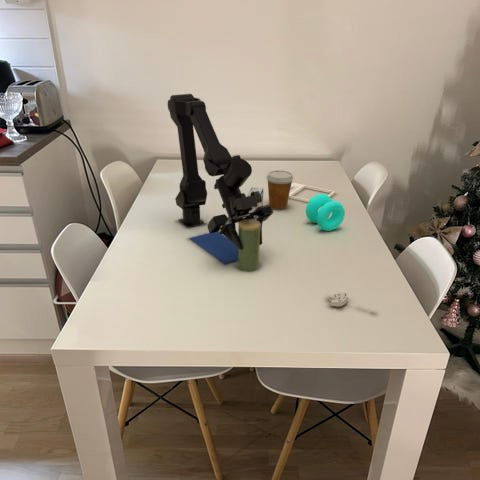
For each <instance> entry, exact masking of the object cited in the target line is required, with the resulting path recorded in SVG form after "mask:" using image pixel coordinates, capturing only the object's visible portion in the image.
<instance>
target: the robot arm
mask: <svg viewBox="0 0 480 480" xmlns="http://www.w3.org/2000/svg"><path fill="white" fill-rule="evenodd" d="M167 109H168V112H169V115H170V118H171V120H172V122H173V123H174V125H175V126H176V128H177V137H178V142H179V143H178V144H179V153H180V159H181V160H180V161H181V166H182V178H181V180H180V183H179V191H178V193H177V195H176V197H175V204H176V206H177V207H179V208H180V209H181V211H182V212H181V213H182V218H180V219H178V222H179V223H181V225H183V226H185V227H186V228H191V227H196V226H201V225H204V224H205V221H204V220H202V219H201V206H206V202H207V197H208V190H207V182H206V180H204V179H203V178H202V177H201V176H200V173H199V165H198V157H197V148H196V139H195V133H196V134H197V138H198V140H199V143H200V145H201V147H202V149H203V152H204V154H203V160H202V161H203V164H204V170H205V172H206V173H207V174H208V176H211V177H212V178H213V177H218V176H220V177H219V178H216V179H215V183H214V185H213V189H214V190H217V191H218V193H219V196H220V199H221V201H222V204H221V207H222V209H225V211H226V214H227V215H226V214H225V213H223V214H219V215H214V216H213V217H212V218H211V219H210V220H209V222H208V223H207V225H206V226H207V230H208V233H215V232H219V234H222V235H223V236H225V237H226V238H228V239H229V240H230V241H231V242H233V243H234V244H235V245H236V246H237V247H238V248H239V249H240V250H242V249H243V247H242V243H241V241H240V239H239V236H238V230H237V228H236V227H237V226H236V225H237V224H238V223H239V222H240V221H241V220H245V219H252V220H257V221H259V222H260V223H261V227H260V246H262V244H263V223H264V222H265V221H267V220H268V219H269V218H270V217H271V216H272V215H273V214H274V211H273V210H274V209H272V208H271V206H269V204H266V205H263V206H260V207H258V204H257V203H261V202H262V198H261V195H260V193H259V191H255V192H251V196H248V197H247V195H246V194H245V193H244V192H242V191H241V187H242V186H243V185H244V184H245V183H246V181H247V180H248V179H249V178H250V176H251V175H252V172H253V169H252V165H251V164H250V163H249V162H248V161H247V160H246V159H243V158H242V157H241V155H240V154H236V155H233V156H232V155H231V154H230V152H229V150H228V148H227V147H225V146H224V145H223V144H222V143H221V142H220V140H219V138H218V135H217V133H216V131H215V129H214V127H213V124H212V121H211V119H210V117H209V114H208V112H207V105H206V103H205V102H204V100H202V99H201V98H199V97H194V95H193V94H192V93H184V94H182V93H181V94H180V93H179V94H171V96H170V97H169V99H168V100H167ZM194 130H195V131H194ZM252 207H258V208H257V209H256V210H255V211H254V212H251V213H249V211H251V210H252Z"/></svg>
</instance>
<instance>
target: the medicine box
mask: <svg viewBox="0 0 480 480" xmlns="http://www.w3.org/2000/svg"><path fill="white" fill-rule="evenodd" d="M255 191H259V193H260V195H261V198H262V202H261V203H257V204H258V207H260V206H264V188H263V187H255V186H254V187H253V186H252V187H251V188H250V189H249V192H248V193H247V195H246V197H248V196H251V192H255ZM258 207H252V210H251V211H249V213H251V212H254V211H255V210H256V209H257V208H258Z"/></svg>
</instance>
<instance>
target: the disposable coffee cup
mask: <svg viewBox="0 0 480 480" xmlns="http://www.w3.org/2000/svg"><path fill="white" fill-rule="evenodd" d="M265 178H266V180H267V191H268V205H269V206H271V208H272V210H275V211H281V210H282V211H283V210H286V209H287V208H288V202H289V199H290V198H289V193H290V188H291V184H292V183H293V181H294V176H293V173H292V172H291V171H288V170H281V169H278V170H275V169H274V170H271V171H268V173H267V175H266V177H265Z"/></svg>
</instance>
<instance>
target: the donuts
mask: <svg viewBox="0 0 480 480" xmlns="http://www.w3.org/2000/svg"><path fill="white" fill-rule="evenodd" d="M328 195H329V194H325V193H318V194H315V195H314V196H312V197H311V198H310V199H309V200H310V201H309V202H307V204H306V207H305V215H306V217H307V219H308V220H309V221H310V222H311V223H314V224H317V225H318V227H319V228H320V229H321V230H323V231H326V232H331V231H334V230H335V229H337V228H338V227H340V225H341V224H342V223H343V221H344V219H345V214H346V213H345V211H346V210H345V207H344V205H343V203H341V202H340V201H338V200H332V198H331V197H329V196H328Z"/></svg>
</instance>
